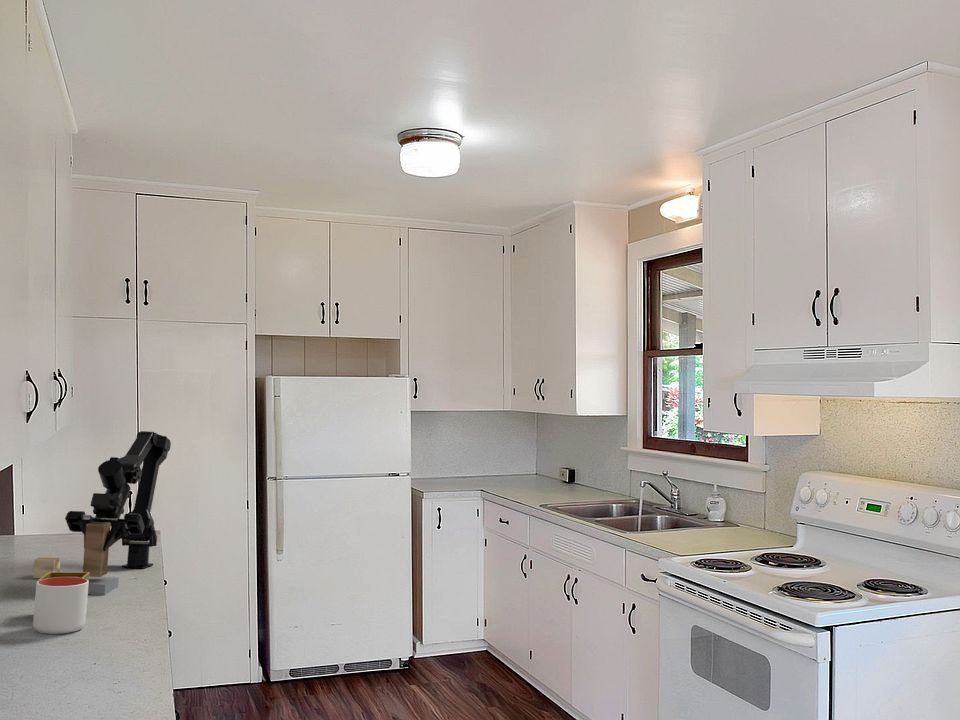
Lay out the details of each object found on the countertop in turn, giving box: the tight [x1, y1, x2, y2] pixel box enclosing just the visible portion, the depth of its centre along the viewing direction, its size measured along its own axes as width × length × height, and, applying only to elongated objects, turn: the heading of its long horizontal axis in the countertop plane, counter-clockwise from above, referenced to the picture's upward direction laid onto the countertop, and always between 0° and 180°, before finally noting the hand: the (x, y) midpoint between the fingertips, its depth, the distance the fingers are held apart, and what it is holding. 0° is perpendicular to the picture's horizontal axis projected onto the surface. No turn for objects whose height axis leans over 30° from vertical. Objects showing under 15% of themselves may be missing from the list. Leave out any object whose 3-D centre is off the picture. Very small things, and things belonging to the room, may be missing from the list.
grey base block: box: [88, 576, 119, 596], centre depth 219 cm, size 9×9×3 cm
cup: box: [32, 577, 89, 635], centre depth 183 cm, size 10×10×10 cm
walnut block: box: [82, 522, 111, 577], centre depth 220 cm, size 4×4×13 cm
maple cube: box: [32, 556, 62, 579], centre depth 233 cm, size 5×5×5 cm
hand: (94, 549), depth 219 cm, fingers closed on walnut block, 4 cm apart
